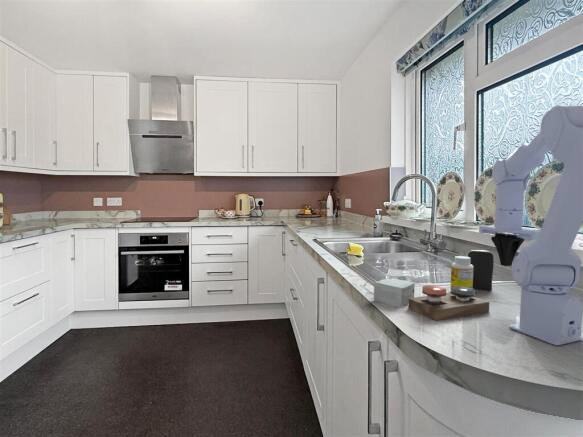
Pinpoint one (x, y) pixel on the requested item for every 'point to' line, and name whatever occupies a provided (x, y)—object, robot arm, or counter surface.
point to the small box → (393, 291)
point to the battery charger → (482, 268)
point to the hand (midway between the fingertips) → (506, 265)
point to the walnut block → (448, 307)
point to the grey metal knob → (462, 293)
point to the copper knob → (434, 294)
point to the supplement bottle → (462, 272)
